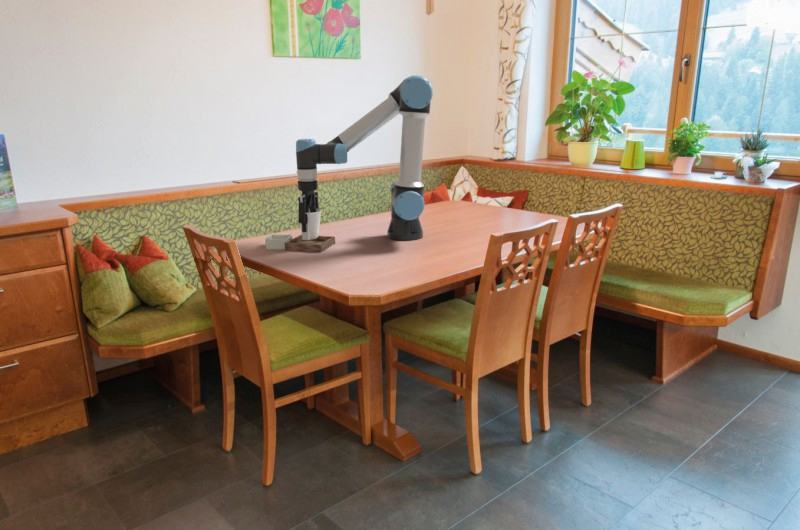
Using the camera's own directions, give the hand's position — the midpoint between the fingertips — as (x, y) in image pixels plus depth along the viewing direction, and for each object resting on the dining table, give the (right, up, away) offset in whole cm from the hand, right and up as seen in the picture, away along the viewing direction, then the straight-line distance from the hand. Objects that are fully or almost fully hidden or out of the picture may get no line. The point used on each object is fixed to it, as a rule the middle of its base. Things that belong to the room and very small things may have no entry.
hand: (310, 237), depth 239 cm
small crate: (-12, -4, +1) cm, 13 cm away
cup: (0, 0, 0) cm, 0 cm away
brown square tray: (0, -4, +1) cm, 4 cm away
